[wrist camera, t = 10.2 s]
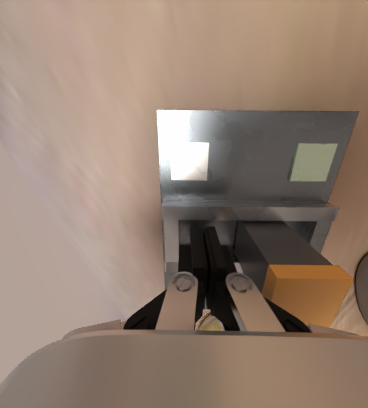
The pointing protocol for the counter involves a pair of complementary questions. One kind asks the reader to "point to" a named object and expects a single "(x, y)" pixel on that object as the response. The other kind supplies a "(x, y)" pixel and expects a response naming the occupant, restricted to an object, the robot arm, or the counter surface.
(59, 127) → the counter surface
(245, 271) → the lever
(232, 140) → the panel
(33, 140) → the counter surface
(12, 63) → the counter surface
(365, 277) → the flask
